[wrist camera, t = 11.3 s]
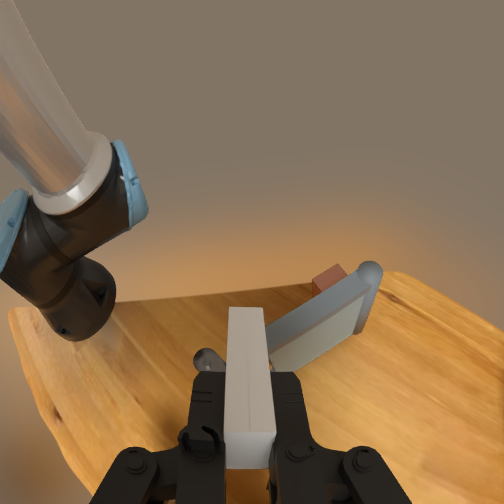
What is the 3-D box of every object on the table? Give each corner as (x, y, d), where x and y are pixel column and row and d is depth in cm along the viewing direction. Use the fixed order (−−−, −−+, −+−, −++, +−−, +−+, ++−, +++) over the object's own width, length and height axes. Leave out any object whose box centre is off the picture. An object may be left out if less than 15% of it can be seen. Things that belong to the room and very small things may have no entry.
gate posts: (239, 414, 33) (193, 393, 20) (216, 371, 37) (163, 324, 24) (359, 342, 36) (384, 279, 23) (330, 305, 40) (337, 228, 27)
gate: (261, 395, 34) (235, 370, 23) (252, 380, 35) (222, 346, 24) (367, 328, 36) (388, 273, 25) (356, 315, 38) (372, 256, 27)
